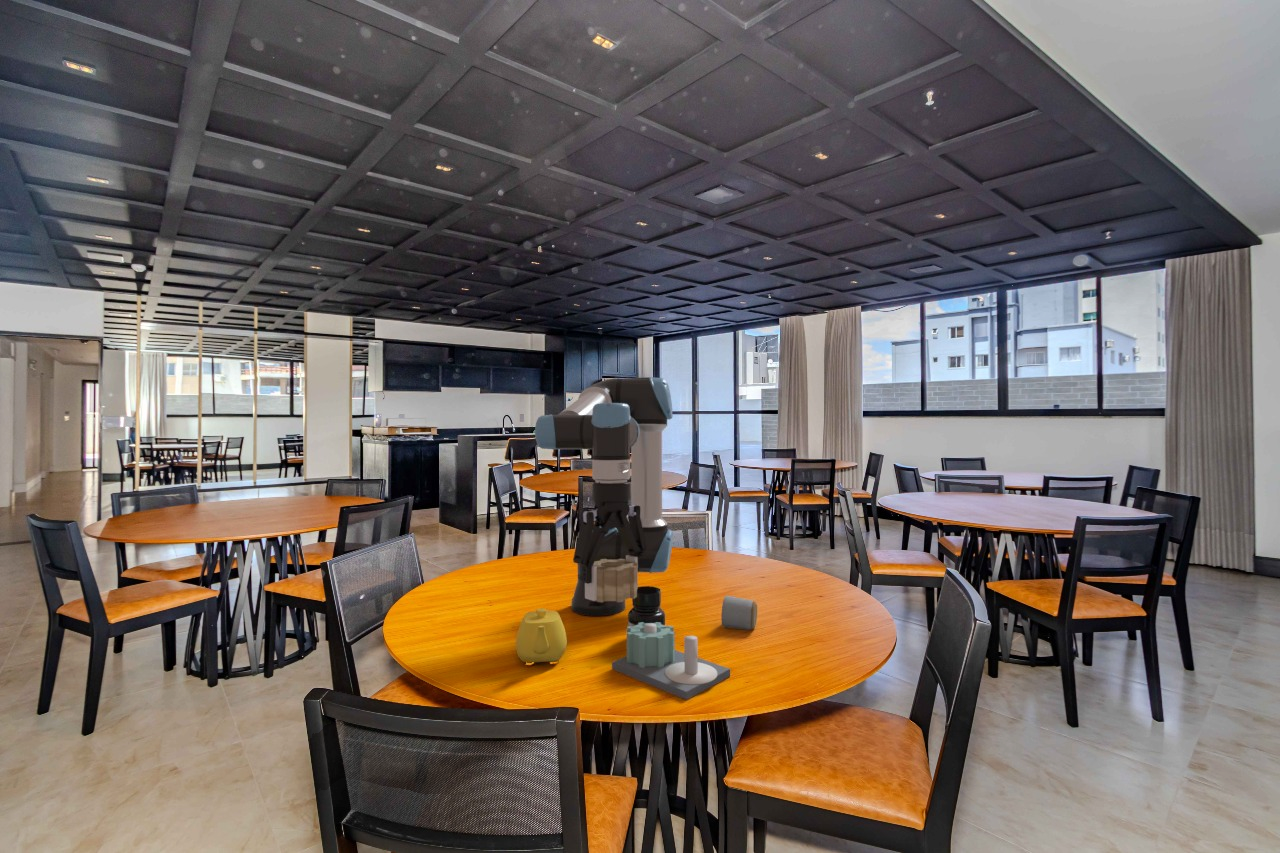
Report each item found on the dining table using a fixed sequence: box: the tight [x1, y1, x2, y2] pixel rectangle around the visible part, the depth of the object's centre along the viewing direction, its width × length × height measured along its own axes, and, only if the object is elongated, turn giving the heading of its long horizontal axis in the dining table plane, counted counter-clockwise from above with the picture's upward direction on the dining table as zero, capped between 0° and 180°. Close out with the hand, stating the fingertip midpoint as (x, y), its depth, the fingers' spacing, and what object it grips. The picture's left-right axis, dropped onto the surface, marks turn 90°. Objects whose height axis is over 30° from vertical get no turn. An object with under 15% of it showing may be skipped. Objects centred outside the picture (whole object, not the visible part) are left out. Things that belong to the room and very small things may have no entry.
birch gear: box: [593, 559, 637, 602], centre depth 114 cm, size 10×10×6 cm
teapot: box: [515, 607, 568, 663], centre depth 126 cm, size 18×11×11 cm, turn 9°
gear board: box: [611, 622, 731, 701], centre depth 118 cm, size 21×14×8 cm, turn 46°
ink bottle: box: [627, 585, 666, 627], centre depth 137 cm, size 10×9×12 cm
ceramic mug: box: [721, 595, 758, 631], centre depth 147 cm, size 11×8×8 cm
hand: (611, 593), depth 114 cm, fingers closed on birch gear, 10 cm apart
